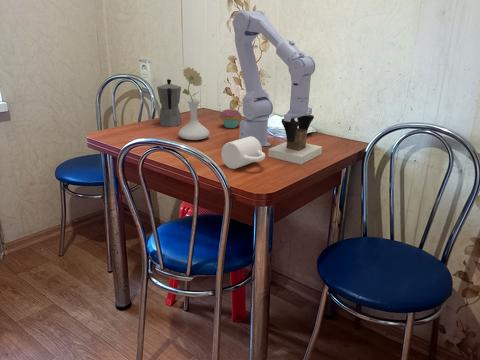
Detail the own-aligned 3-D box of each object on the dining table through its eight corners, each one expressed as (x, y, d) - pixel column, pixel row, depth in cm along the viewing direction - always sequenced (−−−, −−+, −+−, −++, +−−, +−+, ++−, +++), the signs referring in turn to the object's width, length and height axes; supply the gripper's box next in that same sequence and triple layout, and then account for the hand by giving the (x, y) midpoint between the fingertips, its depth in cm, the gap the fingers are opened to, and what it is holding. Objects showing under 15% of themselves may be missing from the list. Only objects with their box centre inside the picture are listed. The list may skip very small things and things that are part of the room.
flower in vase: (215, 140, 153) (215, 69, 143) (186, 144, 147) (184, 70, 138) (199, 131, 163) (198, 64, 154) (171, 135, 157) (169, 66, 148)
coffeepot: (159, 120, 178) (157, 76, 171) (181, 120, 179) (180, 76, 173) (158, 129, 164) (156, 82, 157) (182, 129, 165) (181, 82, 159)
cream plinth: (300, 164, 130) (301, 156, 129) (268, 156, 137) (268, 149, 136) (321, 153, 141) (322, 146, 140) (290, 146, 147) (290, 139, 146)
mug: (220, 165, 128) (221, 140, 125) (242, 158, 135) (243, 133, 132) (251, 175, 121) (252, 148, 118) (272, 167, 128) (273, 141, 125)
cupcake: (244, 126, 172) (245, 96, 168) (233, 130, 165) (234, 100, 161) (227, 123, 176) (227, 94, 172) (215, 127, 170) (215, 97, 165)
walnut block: (298, 151, 135) (300, 132, 133) (286, 148, 137) (287, 130, 135) (305, 147, 138) (307, 129, 136) (293, 145, 141) (294, 127, 138)
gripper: (299, 102, 124) (296, 146, 129) (321, 95, 135) (317, 136, 140) (279, 99, 128) (276, 142, 133) (302, 93, 139) (299, 133, 144)
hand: (296, 139), depth 137 cm, fingers open, 7 cm apart
